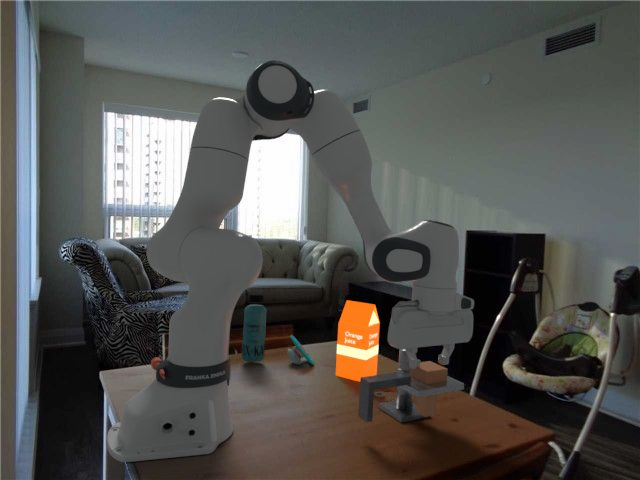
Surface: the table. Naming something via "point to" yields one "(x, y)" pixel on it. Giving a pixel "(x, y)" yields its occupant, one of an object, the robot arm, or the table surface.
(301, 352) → the ornament
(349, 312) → the orange juice
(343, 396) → the table surface
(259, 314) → the beverage bottle
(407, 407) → the grey windowed jig
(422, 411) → the brown block
